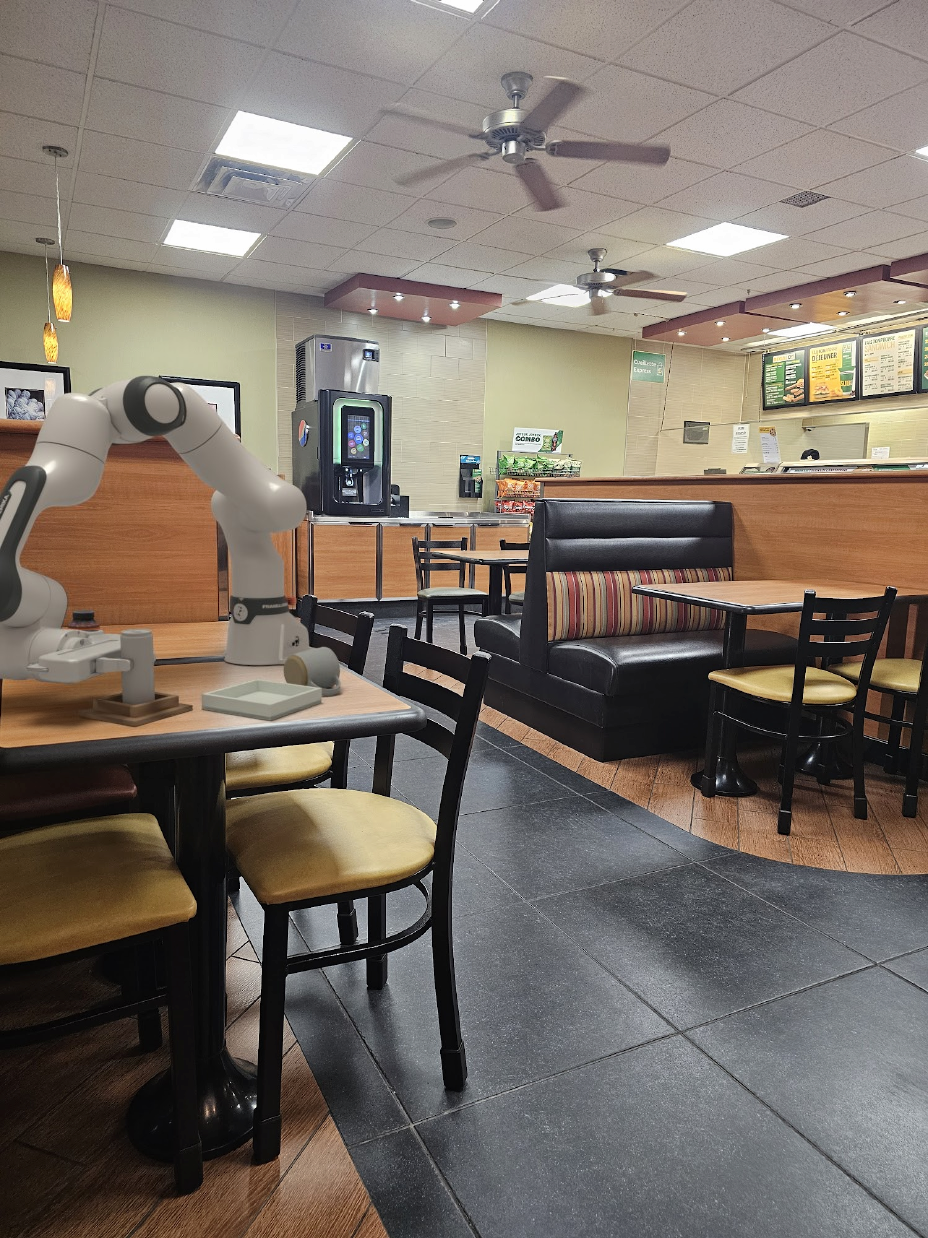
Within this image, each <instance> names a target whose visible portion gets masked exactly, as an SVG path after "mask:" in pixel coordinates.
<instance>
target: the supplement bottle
mask: <svg viewBox="0 0 928 1238" xmlns="http://www.w3.org/2000/svg"><path fill="white" fill-rule="evenodd" d="M100 628H101V626H100V623H99V622H98V621H97V620H95V611H94V610H90V609H81V610H80V609H79V610H74V611H72V620H71V621H70V622H68V624H67V629H74V630H94V629H97V630H101V629H100Z"/></svg>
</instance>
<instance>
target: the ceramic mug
mask: <svg viewBox="0 0 928 1238" xmlns="http://www.w3.org/2000/svg"><path fill="white" fill-rule="evenodd" d="M340 675H341V666H340V662H339V659H338V657H337V655H336V654H335V652H334V651H333V650H332V649H331V648H329V647H327V646H321V647H317V649H313V650H308V651H304V652H300V653H296V654H294V655H292V656H290V657H288V658H287V660H286V662H285V664H283V677H284V680H285V683H289V684H296V685H303V686H310V687H317V688H322V697H333V696H336V695H337V694H339V692H340V688H341V687H342V686H341V684H342V683H341V680H340ZM335 686H336V687H335ZM332 687H335V688H332ZM335 694H336V695H335ZM332 695H333V696H332Z"/></svg>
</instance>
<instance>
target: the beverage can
mask: <svg viewBox="0 0 928 1238" xmlns="http://www.w3.org/2000/svg"><path fill="white" fill-rule="evenodd" d="M152 632H153V630H151V629H149V628H130V629H123V630H121V631H120V645H121V659H122V658H128V659H133V661H134V664H133V665H134V668H133V669H132V670H129V671H127V672H126V671H120V672H121V673H120V674H121V690H122V691H121V693H122V696H123V703H126V704H132V705H138V704H141V703H145V702H149V701H153V700H155V692H156V691H155V690H156V689H155V664H154V663H155V662H154V654H153V652H154V634H153V633H152Z"/></svg>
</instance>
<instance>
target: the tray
mask: <svg viewBox="0 0 928 1238" xmlns="http://www.w3.org/2000/svg"><path fill="white" fill-rule="evenodd" d="M322 699H323V696H322V688H317V687H310V686H303V685H296V684H289V683H287V682H281V681H274V680H273V681H272V680H268V679H259V678H255V679H252V680H249V681H245V682H244V681H243V682H241V683H238V684H237V683H236V684H233V685H229V686H226V687H223V688H218V689H215V690H211V691H207V692H204V693H201V710H202V709H204V710H203V711H208V710H210V711H209V712H214V713H221V714H227V715H231V716H232V715H233V716H239V717H243V718H249V719H251V718H252V719H255V720H256V719H257V720H261V721H270V722H271V721H274V720H277V719H280V718H283V717H285V716H288V715H291V714H294V713H297V712H299V711H302V710H306V709H308V708H311V707H314V706H316V705H318V704H322V701H323V700H322Z"/></svg>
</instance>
